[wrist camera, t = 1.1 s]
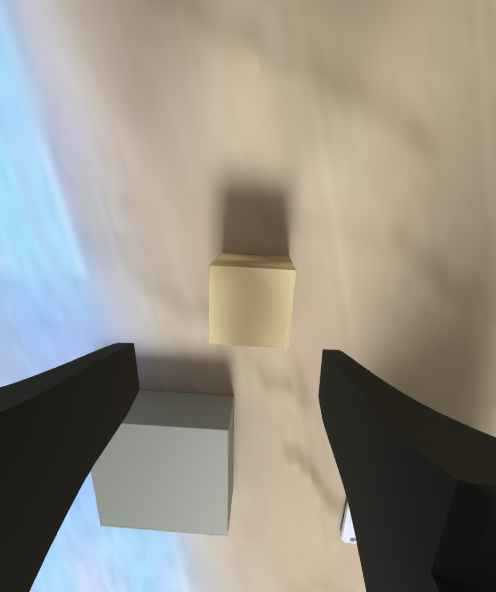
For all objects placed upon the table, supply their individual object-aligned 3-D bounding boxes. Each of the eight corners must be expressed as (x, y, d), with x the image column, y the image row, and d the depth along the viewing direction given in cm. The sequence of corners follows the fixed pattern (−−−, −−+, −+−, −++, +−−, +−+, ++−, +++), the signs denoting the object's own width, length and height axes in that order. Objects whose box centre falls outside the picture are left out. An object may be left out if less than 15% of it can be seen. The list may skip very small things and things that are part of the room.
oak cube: (289, 256, 19) (296, 270, 15) (283, 319, 20) (288, 348, 16) (222, 253, 19) (209, 265, 15) (220, 315, 20) (209, 343, 16)
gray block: (234, 392, 23) (228, 430, 19) (233, 487, 26) (227, 536, 22) (112, 385, 23) (81, 421, 19) (124, 479, 26) (100, 525, 22)
